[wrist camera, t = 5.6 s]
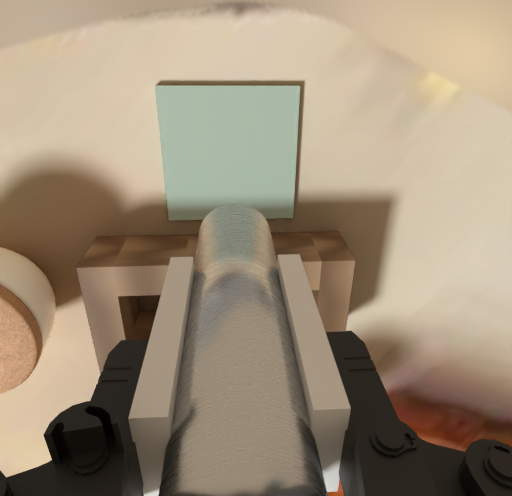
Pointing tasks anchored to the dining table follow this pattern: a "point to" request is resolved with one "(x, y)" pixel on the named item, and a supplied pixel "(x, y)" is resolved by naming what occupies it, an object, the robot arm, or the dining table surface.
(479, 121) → the dining table surface
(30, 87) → the dining table surface
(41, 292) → the lidded jar
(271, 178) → the mat
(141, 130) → the dining table surface
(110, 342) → the wooden block with holes
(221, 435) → the pin
